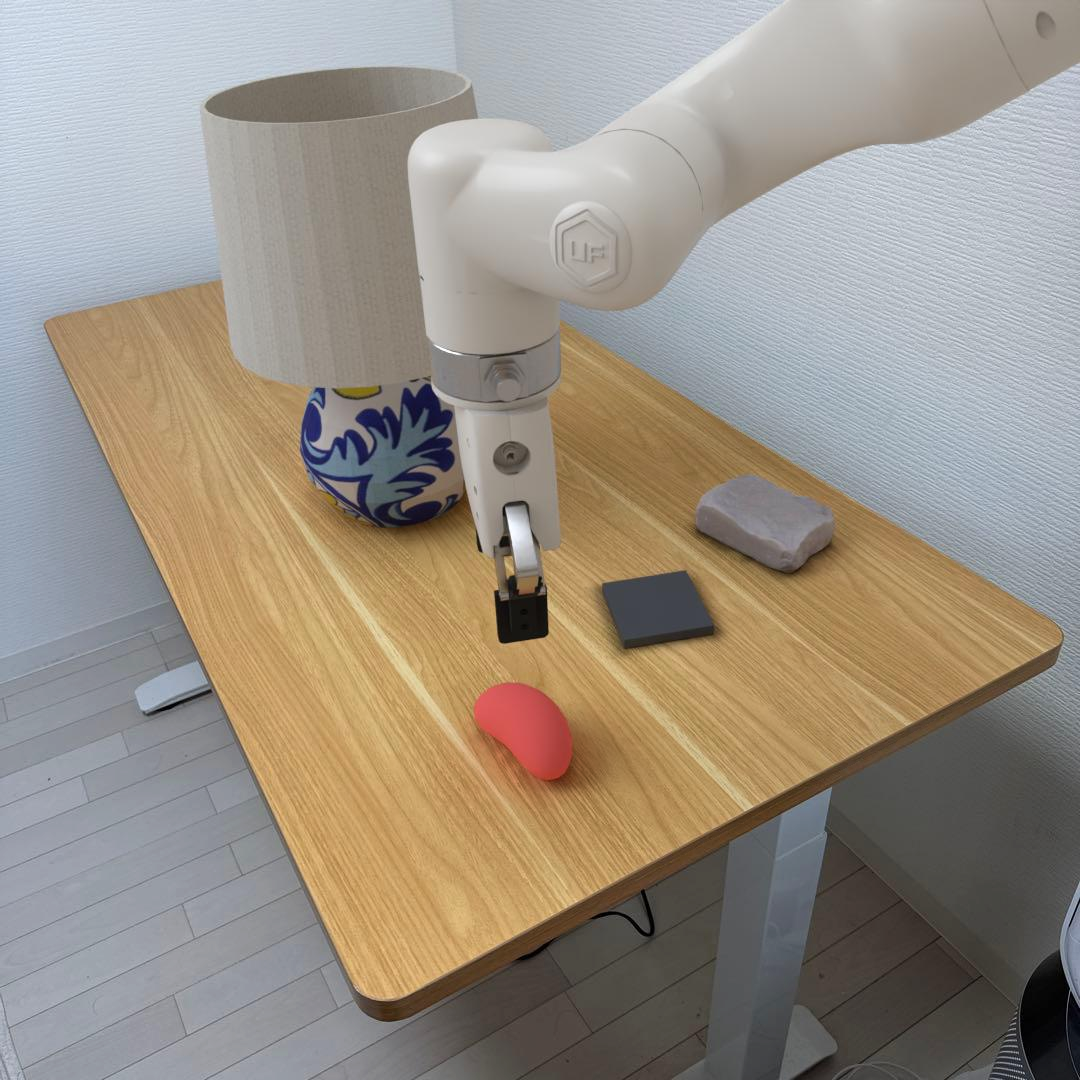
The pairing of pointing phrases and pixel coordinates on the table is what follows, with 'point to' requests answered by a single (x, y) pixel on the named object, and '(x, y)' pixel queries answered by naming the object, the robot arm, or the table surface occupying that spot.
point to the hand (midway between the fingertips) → (511, 590)
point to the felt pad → (656, 609)
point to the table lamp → (338, 273)
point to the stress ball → (527, 727)
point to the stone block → (765, 521)
